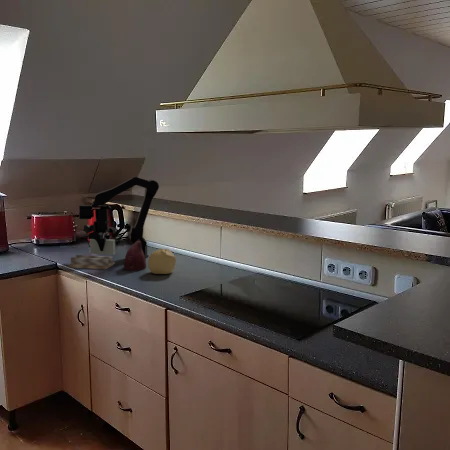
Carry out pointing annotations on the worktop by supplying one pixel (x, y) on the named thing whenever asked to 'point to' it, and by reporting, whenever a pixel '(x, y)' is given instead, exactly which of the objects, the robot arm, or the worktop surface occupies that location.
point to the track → (91, 262)
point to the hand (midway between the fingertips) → (102, 250)
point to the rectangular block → (108, 247)
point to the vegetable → (135, 258)
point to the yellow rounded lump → (161, 262)
